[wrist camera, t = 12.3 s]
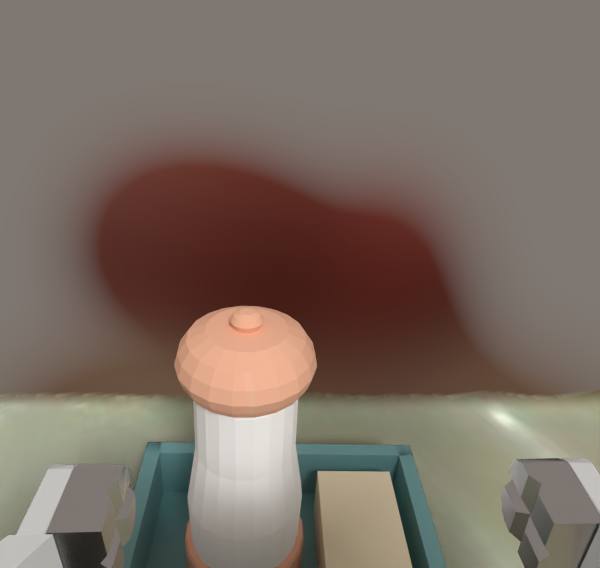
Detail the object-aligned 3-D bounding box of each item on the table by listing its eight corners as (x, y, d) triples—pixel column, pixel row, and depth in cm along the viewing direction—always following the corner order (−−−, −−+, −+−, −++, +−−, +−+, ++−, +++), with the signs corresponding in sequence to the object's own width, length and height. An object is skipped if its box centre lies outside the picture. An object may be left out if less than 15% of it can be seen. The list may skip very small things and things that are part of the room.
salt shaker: (171, 543, 35) (148, 292, 26) (268, 500, 39) (278, 266, 29) (213, 646, 30) (202, 375, 21) (322, 586, 33) (353, 331, 24)
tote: (399, 492, 41) (409, 445, 39) (447, 681, 30) (465, 631, 27) (153, 490, 40) (147, 442, 38) (103, 687, 28) (91, 635, 26)
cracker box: (381, 510, 38) (389, 471, 36) (405, 625, 31) (416, 584, 29) (313, 510, 38) (317, 471, 36) (322, 626, 31) (327, 584, 29)
